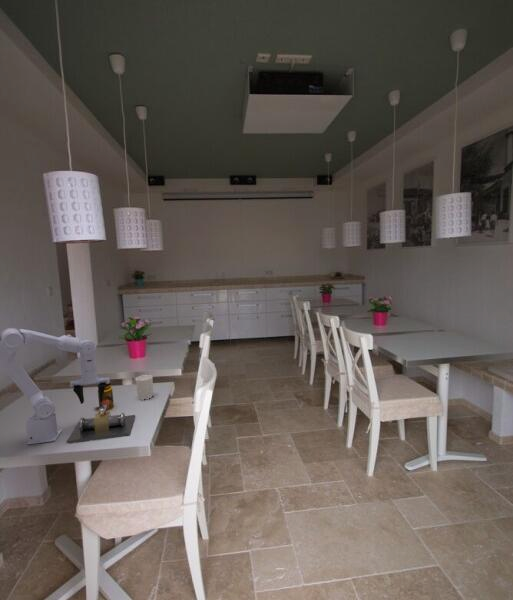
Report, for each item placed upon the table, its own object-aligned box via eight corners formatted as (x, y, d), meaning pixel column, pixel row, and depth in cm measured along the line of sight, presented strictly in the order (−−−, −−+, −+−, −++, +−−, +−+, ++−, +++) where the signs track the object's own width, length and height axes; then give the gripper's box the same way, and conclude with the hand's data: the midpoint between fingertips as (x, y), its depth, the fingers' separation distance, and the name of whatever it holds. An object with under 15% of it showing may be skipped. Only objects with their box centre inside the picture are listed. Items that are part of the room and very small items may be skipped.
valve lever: (104, 413, 136) (104, 409, 136) (97, 414, 136) (97, 410, 136) (109, 403, 146) (109, 400, 146) (103, 404, 145) (103, 400, 145)
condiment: (116, 409, 157) (113, 383, 156) (95, 414, 152) (93, 387, 151) (112, 403, 163) (110, 379, 162) (93, 408, 159) (90, 383, 157)
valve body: (66, 443, 128) (64, 425, 127) (79, 423, 144) (77, 407, 143) (129, 435, 133) (128, 418, 132) (135, 417, 148) (134, 401, 147)
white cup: (157, 396, 170) (156, 376, 169) (144, 402, 164) (142, 381, 162) (146, 393, 174) (145, 373, 173) (133, 398, 168) (131, 378, 166)
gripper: (109, 364, 146) (112, 395, 148) (72, 368, 143) (75, 399, 145) (106, 370, 139) (109, 402, 141) (66, 373, 136) (70, 406, 138)
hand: (92, 401), depth 142 cm, fingers open, 7 cm apart
